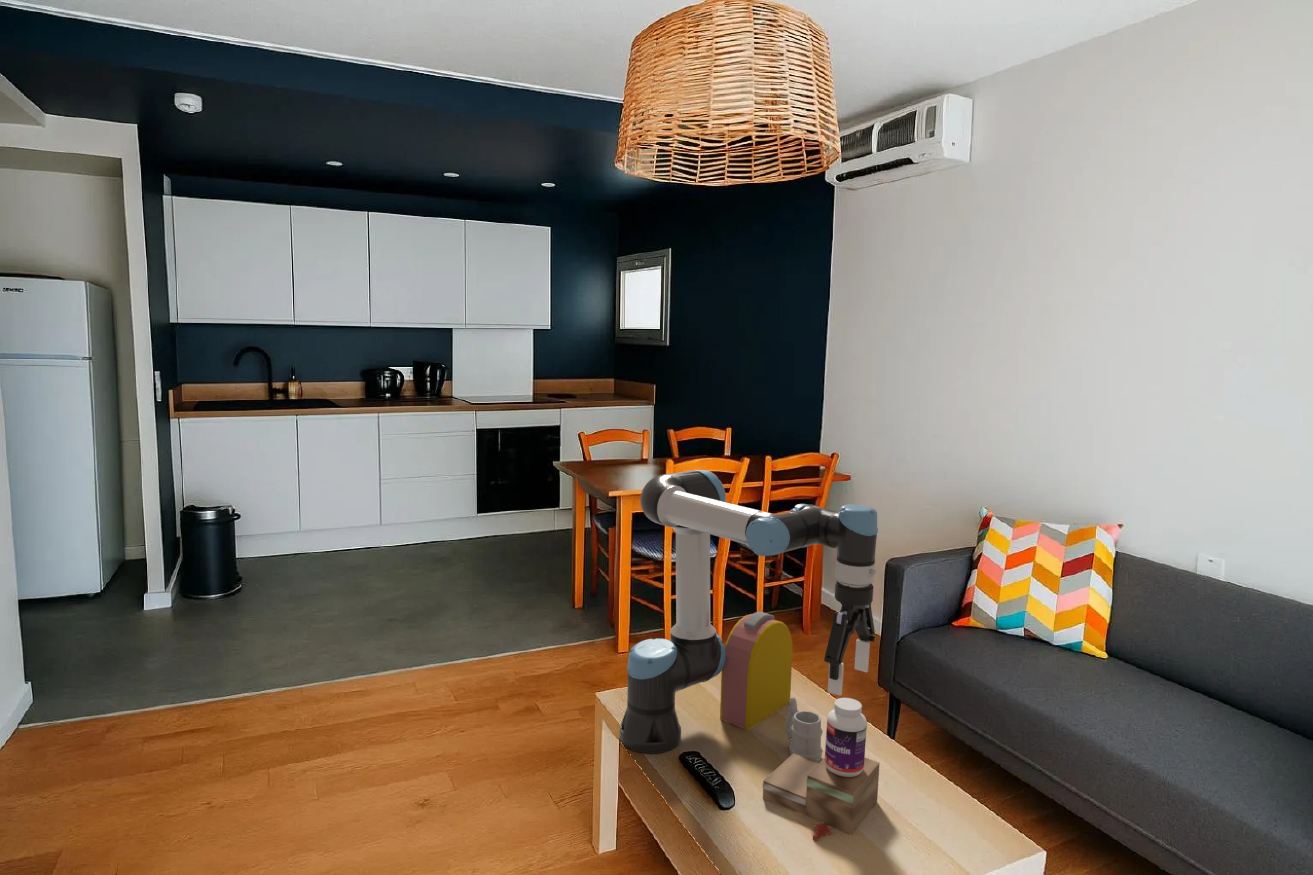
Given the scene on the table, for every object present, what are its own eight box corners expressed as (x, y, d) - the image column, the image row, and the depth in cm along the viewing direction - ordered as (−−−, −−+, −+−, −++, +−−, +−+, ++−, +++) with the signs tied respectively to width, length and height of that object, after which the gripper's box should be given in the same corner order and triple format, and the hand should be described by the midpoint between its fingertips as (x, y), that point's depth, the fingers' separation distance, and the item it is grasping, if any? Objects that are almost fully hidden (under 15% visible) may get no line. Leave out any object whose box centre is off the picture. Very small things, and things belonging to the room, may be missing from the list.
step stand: (748, 811, 163) (750, 771, 162) (792, 769, 179) (794, 732, 178) (838, 850, 151) (841, 807, 150) (877, 801, 167) (879, 762, 166)
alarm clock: (762, 690, 218) (766, 599, 215) (791, 701, 212) (795, 607, 209) (718, 718, 202) (722, 620, 199) (748, 730, 197) (752, 629, 193)
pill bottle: (816, 767, 164) (819, 702, 162) (839, 754, 169) (842, 691, 167) (849, 784, 158) (853, 717, 156) (871, 770, 163) (875, 704, 161)
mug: (801, 768, 180) (804, 719, 178) (772, 743, 190) (774, 696, 189) (828, 760, 183) (831, 712, 181) (798, 737, 194) (800, 691, 192)
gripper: (847, 602, 146) (840, 709, 149) (894, 571, 166) (888, 666, 169) (810, 593, 150) (804, 697, 153) (860, 564, 170) (854, 656, 173)
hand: (848, 681), depth 161 cm, fingers open, 13 cm apart
